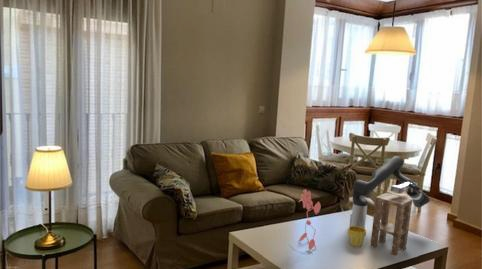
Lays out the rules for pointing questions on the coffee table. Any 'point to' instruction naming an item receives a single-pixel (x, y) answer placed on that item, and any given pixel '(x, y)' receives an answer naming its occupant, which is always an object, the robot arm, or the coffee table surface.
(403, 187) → the brushed grey block
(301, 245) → the coffee table surface
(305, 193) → the figurine
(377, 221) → the walnut stand
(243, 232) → the coffee table surface
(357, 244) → the plant pot
